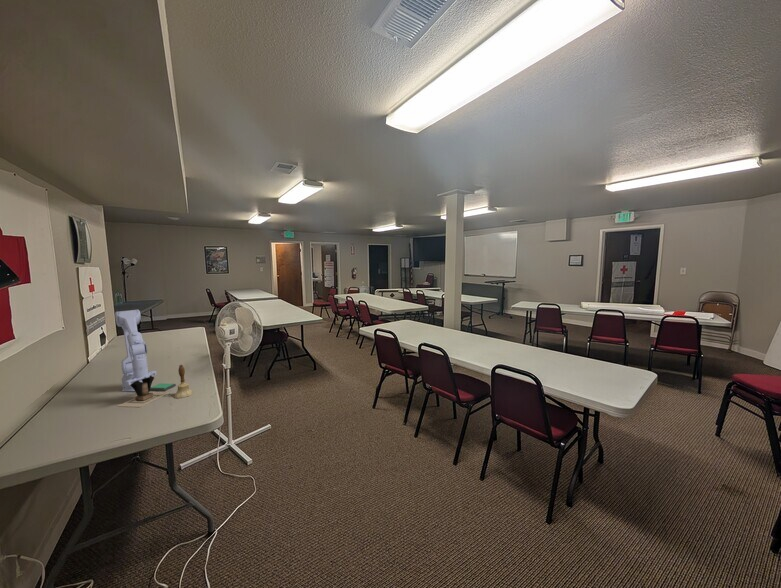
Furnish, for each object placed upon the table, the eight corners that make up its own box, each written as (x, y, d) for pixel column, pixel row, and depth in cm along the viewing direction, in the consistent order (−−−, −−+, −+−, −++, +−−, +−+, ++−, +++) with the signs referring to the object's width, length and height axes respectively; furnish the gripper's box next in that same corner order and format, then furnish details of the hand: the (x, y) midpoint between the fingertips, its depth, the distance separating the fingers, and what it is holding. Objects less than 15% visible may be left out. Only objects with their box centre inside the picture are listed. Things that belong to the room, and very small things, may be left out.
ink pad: (148, 390, 160) (148, 388, 160) (160, 385, 167) (159, 382, 166) (164, 391, 158) (164, 388, 158) (175, 385, 165) (175, 383, 165)
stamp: (135, 400, 147) (133, 385, 146) (145, 396, 152) (143, 381, 151) (143, 401, 146) (141, 386, 145) (153, 396, 151) (151, 382, 150)
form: (116, 406, 142) (116, 405, 142) (148, 392, 158) (148, 391, 158) (140, 407, 140) (139, 406, 140) (169, 392, 156) (169, 392, 156)
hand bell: (197, 391, 156) (194, 362, 155) (185, 398, 148) (181, 367, 147) (183, 391, 157) (179, 362, 156) (169, 398, 149) (166, 367, 147)
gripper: (132, 372, 140) (136, 400, 141) (160, 362, 154) (163, 387, 155) (119, 372, 141) (123, 399, 142) (148, 362, 155) (151, 387, 156)
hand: (143, 393), depth 149 cm, fingers closed on stamp, 4 cm apart
